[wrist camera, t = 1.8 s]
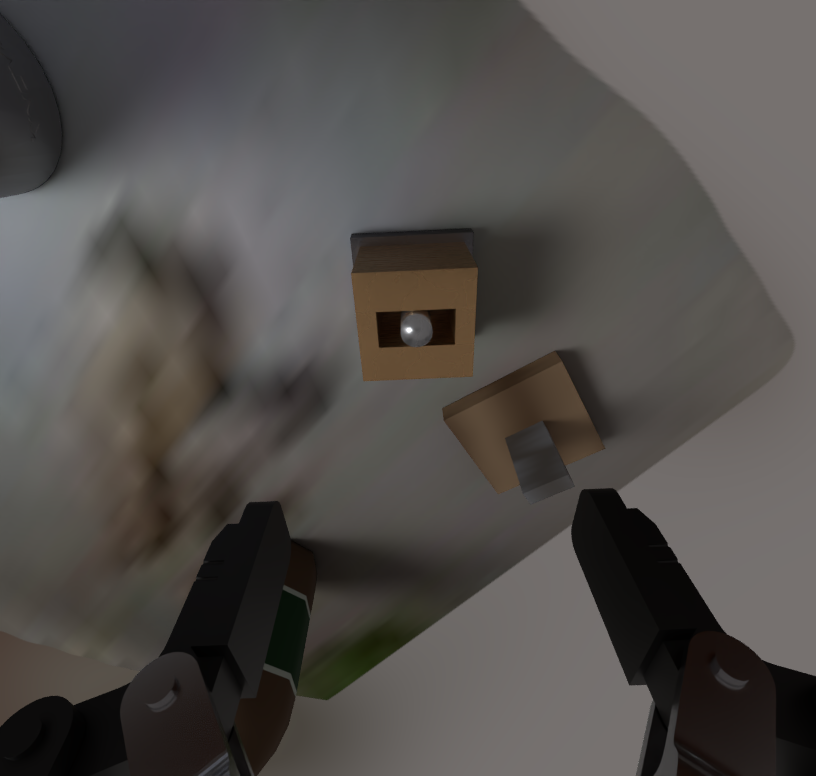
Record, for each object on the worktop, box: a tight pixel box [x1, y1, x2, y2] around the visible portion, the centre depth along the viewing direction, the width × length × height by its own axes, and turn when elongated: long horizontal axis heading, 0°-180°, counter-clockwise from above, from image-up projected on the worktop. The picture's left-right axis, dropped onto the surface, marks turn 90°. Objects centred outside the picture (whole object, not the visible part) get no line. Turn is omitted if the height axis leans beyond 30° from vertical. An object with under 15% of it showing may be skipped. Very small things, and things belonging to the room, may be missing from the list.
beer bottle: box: [234, 541, 317, 776], centre depth 31 cm, size 8×8×24 cm
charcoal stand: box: [350, 229, 474, 347], centre depth 24 cm, size 7×7×6 cm
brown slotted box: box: [351, 242, 478, 381], centre depth 24 cm, size 6×6×5 cm
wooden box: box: [442, 351, 605, 504], centre depth 29 cm, size 9×9×7 cm
